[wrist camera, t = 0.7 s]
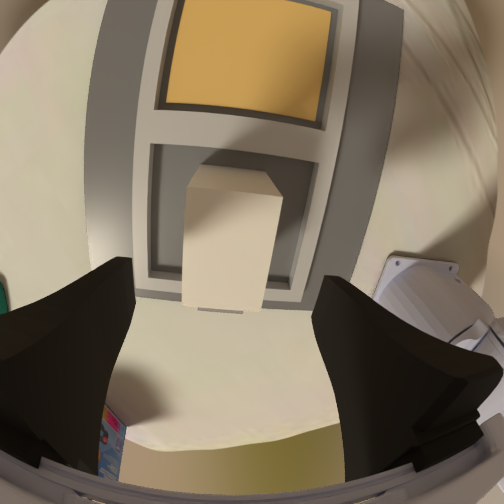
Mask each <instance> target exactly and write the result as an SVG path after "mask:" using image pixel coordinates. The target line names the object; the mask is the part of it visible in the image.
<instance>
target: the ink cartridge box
mask: <svg viewBox="0 0 504 504" xmlns="http://www.w3.org/2000/svg"><path fill="white" fill-rule="evenodd" d="M125 434H126V426H125V425H124V424H123V423H122V422H121V421H120V420H119V419H118V418H117V417H116V416H115V415H114V413H113V412H112V411H111V410H110V409H109V408H108V406H107V405H106V404H104V410H103V417H102V423H101V432H100V442H99V461H98V477H102V478H106V479H110V480H113V481H118V479H119V471H120V465H121V458H122V452H123V445H124V440H125ZM88 499H89V498H88ZM89 500H91V501H92V499H89Z"/></svg>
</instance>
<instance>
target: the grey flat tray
mask: <svg viewBox="0 0 504 504" xmlns="http://www.w3.org/2000/svg"><path fill="white" fill-rule="evenodd" d="M402 32H403V9H401V8H399V7H397V6H395V5H392V4H390V3H388V2H386V1H384V0H108V2H107V5H106V8H105V12H104V16H103V19H102V23H101V27H100V31H99V36H98V40H97V45H96V50H95V55H94V60H93V66H92V72H91V79H90V86H89V94H88V103H87V113H86V126H85V145H84V194H85V214H86V227H87V238H88V247H89V256H90V263H91V270H94V269H96V268H97V267H99V266H100V265H102V264H104V263H105V262H107V261H109V260H110V259H112V258H114V257H116V256H121V257H130V258H132V263H133V277H134V289H135V296H136V297H144V298H153V299H161V300H170V301H180V302H182V263H183V238H184V220H185V204H186V191H187V185H188V184H189V182H190V180H191V179H192V177H193V175H194V174H195V172H196V171H197V169H198V167H199V166H200V164H205V165H215V166H225V167H234V168H243V169H251V170H258V171H265V172H266V173H267V175H268V176H269V178H270V179H271V180H272V182H273V183H274V185H275V186H276V188H277V189H278V191H279V192H280V193H281V195H282V196H283V200H282V206H281V211H280V216H279V222H278V227H277V232H276V237H275V242H274V248H273V253H272V258H271V263H270V268H269V273H268V278H267V283H266V288H265V293H264V297H263V302H262V307H261V308H266V309H285V310H309V311H313V310H314V307H315V303H316V300H317V297H318V294H319V291H320V288H321V284H322V281H323V278H324V275H332V276H340V277H341V278H343V279H345V280H346V281H348V282H350V279H351V276H352V273H353V270H354V267H355V264H356V261H357V258H358V255H359V252H360V248H361V245H362V242H363V239H364V235H365V232H366V229H367V225H368V222H369V218H370V215H371V211H372V208H373V204H374V200H375V196H376V192H377V188H378V184H379V180H380V176H381V172H382V167H383V163H384V158H385V154H386V149H387V144H388V139H389V134H390V129H391V123H392V117H393V111H394V105H395V99H396V92H397V84H398V76H399V68H400V58H401V47H402Z"/></svg>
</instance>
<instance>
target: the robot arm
mask: <svg viewBox="0 0 504 504" xmlns="http://www.w3.org/2000/svg"><path fill="white" fill-rule="evenodd" d="M397 261H398V262H397ZM396 262H397V263H396ZM458 271H459V265H458V264H457V263H452V262H444V261H436V260H428V259H420V258H411V257H403V256H395V255H392V256H390V257H389V258H388V259H387V261H386V264H385V267H384V269H383V272H382V275H381V277H380V280H379V282H378V285H377V288H376V290H375V292H374V295H373V297H372V299H371V298H370V297H369V296H367V295H366V294H365V293H363V292H362V291H361V290H359V289H358V288H356V287H355V286H354V285H352V284H351V283H349V282H348V281H346V280H345V279H343V278H341V277H340V276H332V275H324V278H323V281H322V284H321V288H320V291H319V294H318V297H317V300H316V303H315V307H314V310H313V313H312V316H311V319H312V324H313V329H314V334H315V338H316V341H317V344H318V347H319V350H320V353H321V355H322V358H323V361H324V364H325V366H326V369H327V372H328V375H329V378H330V380H331V383H332V387H333V390H334V394H335V398H336V403H337V408H338V413H339V419H340V424H341V431H342V439H343V448H344V461H345V482H344V483H340V484H335V485H330V486H325V487H319V488H313V489H307V490H300V491H292V492H282V493H271V494H254V495H212V494H195V493H182V492H174V491H166V490H159V489H153V488H146V487H141V486H136V485H131V484H126V483H121V482H118V481H113V480H110V479H106V478H102V477H98V461H99V442H100V432H101V423H102V417H103V410H104V404H105V399H106V394H107V390H108V385H109V381H110V377H111V374H112V371H113V368H114V365H115V363H116V360H117V357H118V355H119V352H120V350H121V347H122V345H123V342H124V339H125V337H126V334H127V332H128V329H129V327H130V324H131V320H132V316H133V313H134V309H135V305H136V299H135V289H134V277H133V263H132V258H130V257H121V256H116V257H114V258H112V259H110V260H109V261H107V262H105V263H104V264H102V265H100V266H99V267H97V268H96V269H94V270H92V271H91V272H89V273H87V274H86V275H84V276H83V277H81V278H79V279H78V280H76V281H74V282H72V283H71V284H69V285H67V286H66V287H64V288H62V289H60V290H59V291H57V292H55V293H53V294H51V295H49V296H47V297H45V298H42V299H40V300H38V301H36V302H34V303H31V304H29V305H26V306H23V307H21V308H18V309H15V310H13V311H10V312H7V313H3V314H0V504H100V503H97V502H94V501H91V500H89V499H92V500H95V501H98V502H102V503H105V504H354V503H358V502H361V501H364V500H368V499H371V498H374V497H375V498H374V499H371V500H369V501H366V502H363V503H360V504H476V503H477V502H478V501H479V500H480V499H481V498H483V497H484V496H485V495H486V494H487V493H488V492H489V491H490V490H491V489H492V488H493V487H494V486H495V485H496V484H498V486H499V487H500V489H501V490H502V492H503V493H504V318H499V319H497V318H495V316H494V314H493V311H492V309H491V308H490V306H489V305H488V304H487V303H486V302H485V301H484V300H483V299H482V298H481V297H480V296H479V295H478V294H477V293H476V292H475V291H474V290H473V289H472V288H471V287H470V286H468V285H467V284H466V283H465V282H464V281H463V280H462V279H461V278H460V277H459V276H458V275H457V273H458ZM82 496H83V497H82ZM84 497H86V498H89V499H86V498H84Z"/></svg>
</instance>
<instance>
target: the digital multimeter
mask: <svg viewBox="0 0 504 504" xmlns="http://www.w3.org/2000/svg"><path fill="white" fill-rule="evenodd" d="M7 312H8V309H7V303H6V298H5V294H4V290H3V286H2V284H1V283H0V314H3V313H7Z"/></svg>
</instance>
